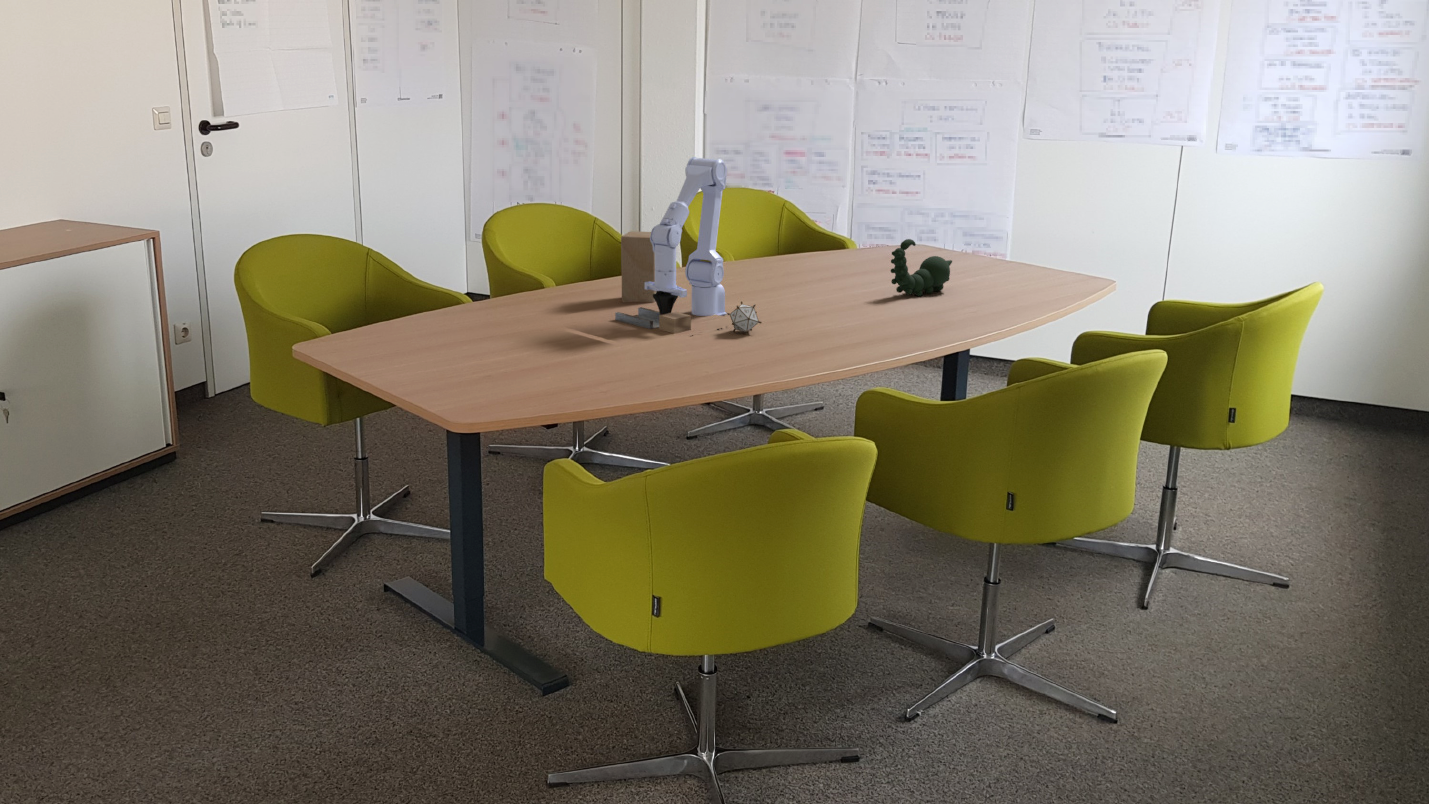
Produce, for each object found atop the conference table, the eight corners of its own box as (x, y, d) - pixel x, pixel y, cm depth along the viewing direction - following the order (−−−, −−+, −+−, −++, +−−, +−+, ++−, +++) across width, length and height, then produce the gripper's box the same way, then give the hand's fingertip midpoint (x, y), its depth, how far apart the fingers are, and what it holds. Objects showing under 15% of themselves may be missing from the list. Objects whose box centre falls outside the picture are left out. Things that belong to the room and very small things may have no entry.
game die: (741, 347, 324) (726, 322, 317) (733, 329, 330) (718, 304, 323) (770, 331, 323) (755, 306, 316) (761, 313, 329) (747, 288, 322)
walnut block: (676, 326, 327) (676, 311, 326) (690, 330, 323) (690, 315, 322) (659, 329, 323) (659, 315, 322) (674, 333, 319) (674, 319, 318)
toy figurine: (906, 306, 363) (963, 289, 377) (906, 245, 357) (963, 229, 370) (884, 300, 371) (940, 283, 384) (883, 240, 364) (941, 225, 378)
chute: (641, 316, 340) (641, 307, 339) (701, 332, 324) (701, 322, 323) (615, 322, 333) (615, 312, 332) (675, 338, 317) (675, 328, 316)
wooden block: (654, 305, 354) (653, 237, 348) (621, 303, 356) (620, 236, 350) (662, 298, 363) (662, 232, 357) (630, 296, 365) (629, 230, 359)
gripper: (636, 267, 324) (636, 317, 328) (673, 275, 314) (673, 326, 318) (655, 264, 328) (655, 312, 332) (692, 272, 319) (692, 322, 323)
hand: (665, 319), depth 326 cm, fingers closed
